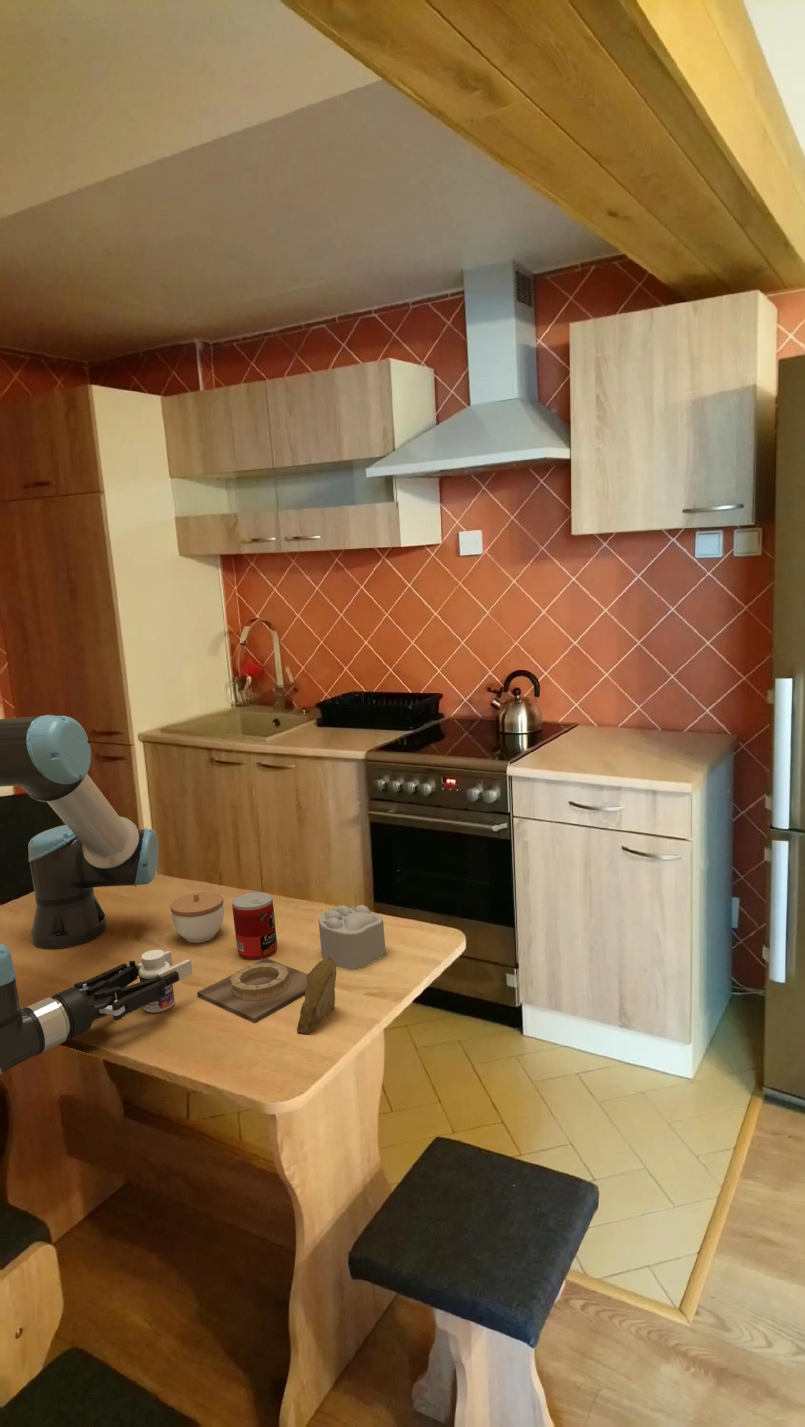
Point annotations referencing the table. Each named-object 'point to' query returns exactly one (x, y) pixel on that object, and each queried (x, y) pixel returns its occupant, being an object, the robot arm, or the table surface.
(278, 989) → the ring plate
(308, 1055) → the table surface
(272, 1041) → the table surface
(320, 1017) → the rock
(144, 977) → the pill bottle
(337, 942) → the lumpy-topped squat cylinder
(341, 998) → the table surface
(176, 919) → the lidded jar
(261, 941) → the canned food
